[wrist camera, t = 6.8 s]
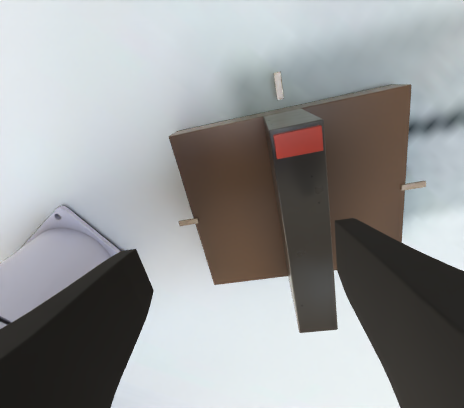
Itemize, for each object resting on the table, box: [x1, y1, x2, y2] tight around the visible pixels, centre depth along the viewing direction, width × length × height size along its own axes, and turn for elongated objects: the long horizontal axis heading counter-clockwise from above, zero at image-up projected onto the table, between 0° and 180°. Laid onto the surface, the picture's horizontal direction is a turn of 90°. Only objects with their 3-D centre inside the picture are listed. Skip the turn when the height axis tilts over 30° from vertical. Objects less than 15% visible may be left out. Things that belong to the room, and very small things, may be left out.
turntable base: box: [169, 72, 426, 285], centre depth 18 cm, size 16×16×2 cm
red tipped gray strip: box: [263, 108, 338, 333], centre depth 15 cm, size 12×2×5 cm, turn 12°
